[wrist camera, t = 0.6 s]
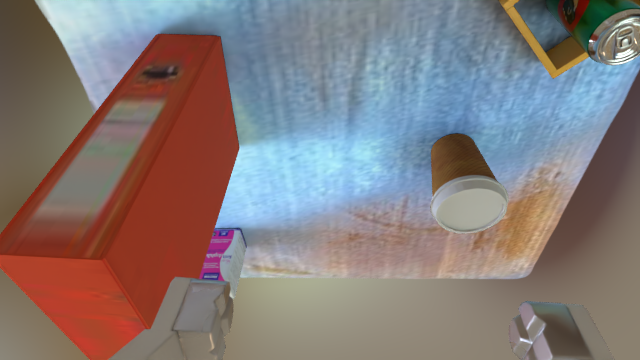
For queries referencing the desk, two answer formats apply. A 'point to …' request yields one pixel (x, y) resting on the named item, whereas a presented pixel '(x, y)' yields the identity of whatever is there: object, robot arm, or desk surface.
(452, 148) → the disposable coffee cup
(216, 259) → the supplement box
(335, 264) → the desk surface
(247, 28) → the desk surface
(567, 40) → the frame
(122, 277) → the file binder
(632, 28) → the soda can
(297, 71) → the desk surface
